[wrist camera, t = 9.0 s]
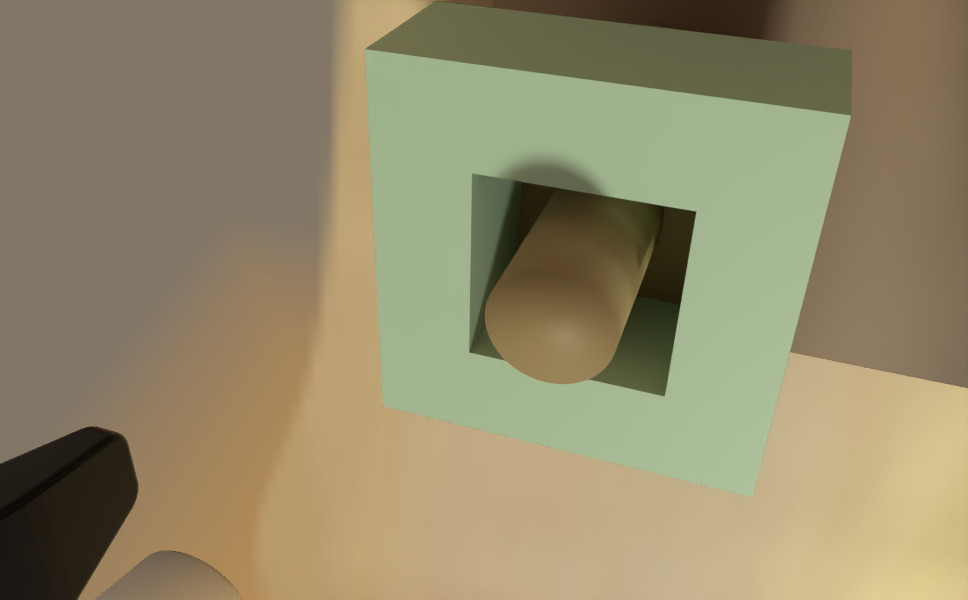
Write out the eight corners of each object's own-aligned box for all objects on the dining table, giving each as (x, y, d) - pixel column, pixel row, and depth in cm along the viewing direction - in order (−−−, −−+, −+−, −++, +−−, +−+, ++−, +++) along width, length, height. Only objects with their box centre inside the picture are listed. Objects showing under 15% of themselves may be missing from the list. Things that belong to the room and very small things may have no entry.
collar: (851, 50, 12) (851, 115, 10) (764, 397, 15) (752, 497, 13) (435, 1, 14) (364, 49, 12) (438, 325, 17) (382, 405, 15)
